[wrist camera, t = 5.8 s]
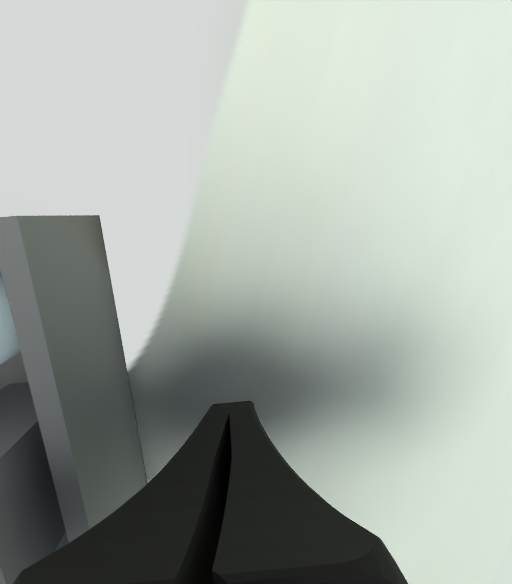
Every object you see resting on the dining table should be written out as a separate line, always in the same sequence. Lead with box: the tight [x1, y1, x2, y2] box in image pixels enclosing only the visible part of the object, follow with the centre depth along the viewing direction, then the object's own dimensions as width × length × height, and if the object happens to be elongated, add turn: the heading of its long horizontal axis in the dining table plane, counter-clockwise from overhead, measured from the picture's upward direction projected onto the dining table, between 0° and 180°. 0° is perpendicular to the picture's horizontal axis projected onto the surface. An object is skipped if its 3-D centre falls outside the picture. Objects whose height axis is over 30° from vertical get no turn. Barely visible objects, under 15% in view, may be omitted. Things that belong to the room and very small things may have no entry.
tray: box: [0, 215, 147, 584], centre depth 10 cm, size 5×14×5 cm, turn 5°
